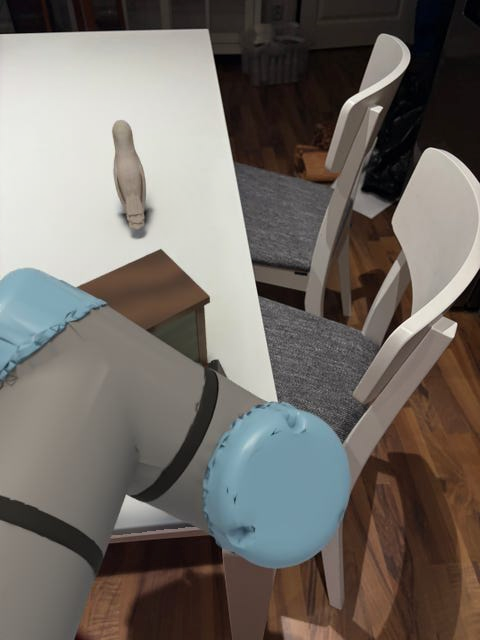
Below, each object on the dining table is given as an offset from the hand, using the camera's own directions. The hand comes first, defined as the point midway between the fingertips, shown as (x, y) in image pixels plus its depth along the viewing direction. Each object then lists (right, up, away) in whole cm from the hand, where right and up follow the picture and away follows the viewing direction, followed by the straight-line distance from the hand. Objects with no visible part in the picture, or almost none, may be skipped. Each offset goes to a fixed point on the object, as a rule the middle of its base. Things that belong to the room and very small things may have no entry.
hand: (117, 413), depth 57 cm
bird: (-5, +28, +33) cm, 43 cm away
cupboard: (0, +3, +10) cm, 10 cm away
